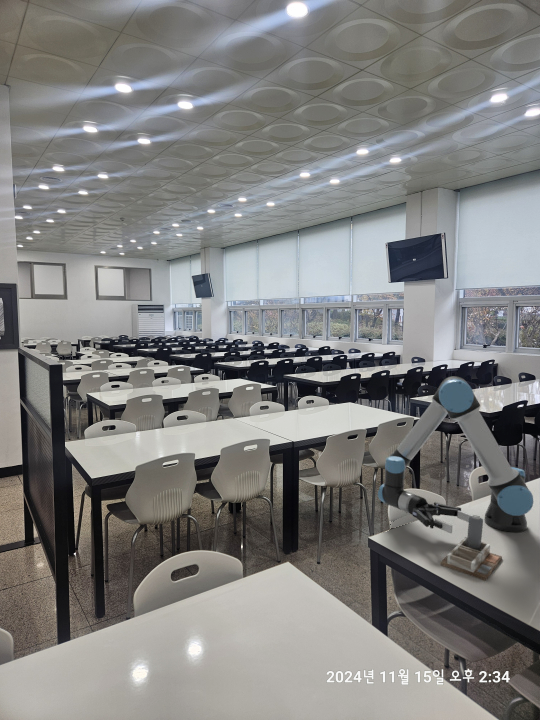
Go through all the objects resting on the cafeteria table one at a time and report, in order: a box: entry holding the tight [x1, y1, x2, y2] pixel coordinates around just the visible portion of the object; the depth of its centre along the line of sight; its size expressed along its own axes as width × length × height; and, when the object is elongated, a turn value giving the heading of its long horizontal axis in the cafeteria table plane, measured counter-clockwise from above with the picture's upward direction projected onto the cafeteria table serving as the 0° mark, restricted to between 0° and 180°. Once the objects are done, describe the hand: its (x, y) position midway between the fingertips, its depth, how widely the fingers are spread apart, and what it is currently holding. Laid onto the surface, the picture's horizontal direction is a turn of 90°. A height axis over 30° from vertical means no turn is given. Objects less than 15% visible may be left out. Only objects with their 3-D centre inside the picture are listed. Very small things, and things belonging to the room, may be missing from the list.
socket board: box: [440, 536, 503, 581], centre depth 156 cm, size 18×14×4 cm
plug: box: [466, 514, 484, 551], centre depth 160 cm, size 4×4×13 cm
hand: (463, 524), depth 163 cm, fingers open, 13 cm apart
